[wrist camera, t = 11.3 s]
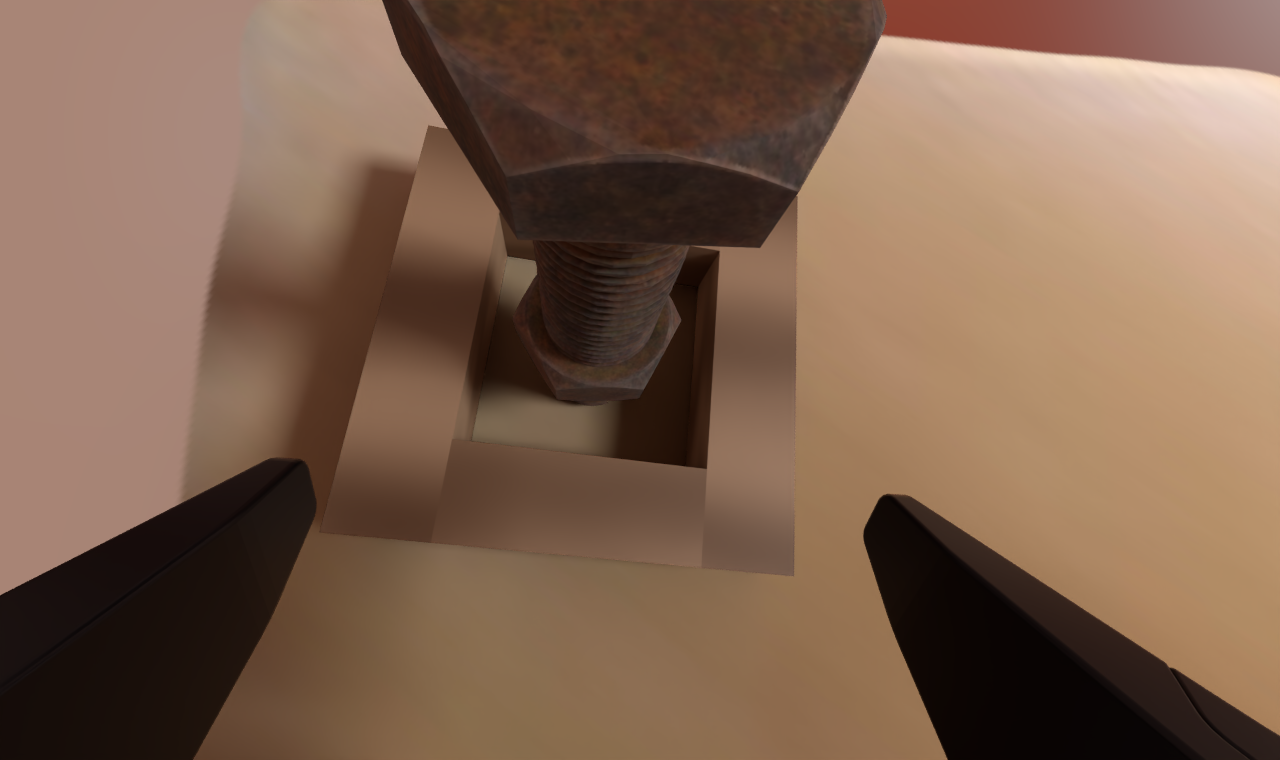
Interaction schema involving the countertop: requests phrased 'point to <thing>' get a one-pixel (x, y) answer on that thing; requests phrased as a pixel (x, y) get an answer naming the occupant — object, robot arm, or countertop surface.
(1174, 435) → the countertop surface
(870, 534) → the robot arm
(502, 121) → the bolt
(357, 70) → the countertop surface
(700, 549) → the jig
